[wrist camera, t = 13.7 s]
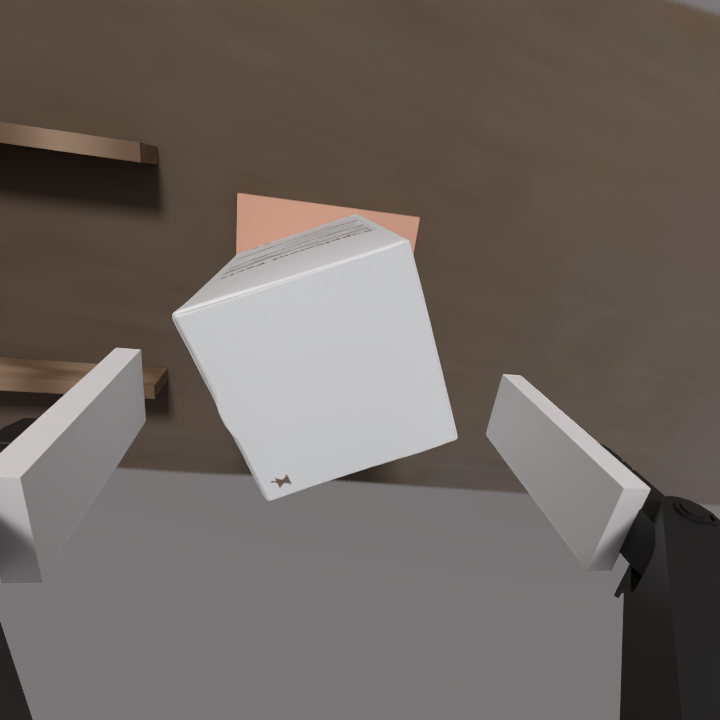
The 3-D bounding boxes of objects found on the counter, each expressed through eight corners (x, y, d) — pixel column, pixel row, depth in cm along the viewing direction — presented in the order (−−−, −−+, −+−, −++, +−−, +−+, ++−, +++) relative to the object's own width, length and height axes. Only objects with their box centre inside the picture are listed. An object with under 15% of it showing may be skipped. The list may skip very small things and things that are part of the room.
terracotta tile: (236, 361, 32) (234, 366, 31) (239, 192, 27) (237, 193, 26) (389, 372, 34) (391, 377, 33) (416, 216, 29) (419, 217, 28)
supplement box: (395, 331, 31) (465, 446, 18) (281, 368, 31) (263, 511, 18) (361, 209, 28) (416, 233, 14) (232, 250, 28) (162, 315, 14)
